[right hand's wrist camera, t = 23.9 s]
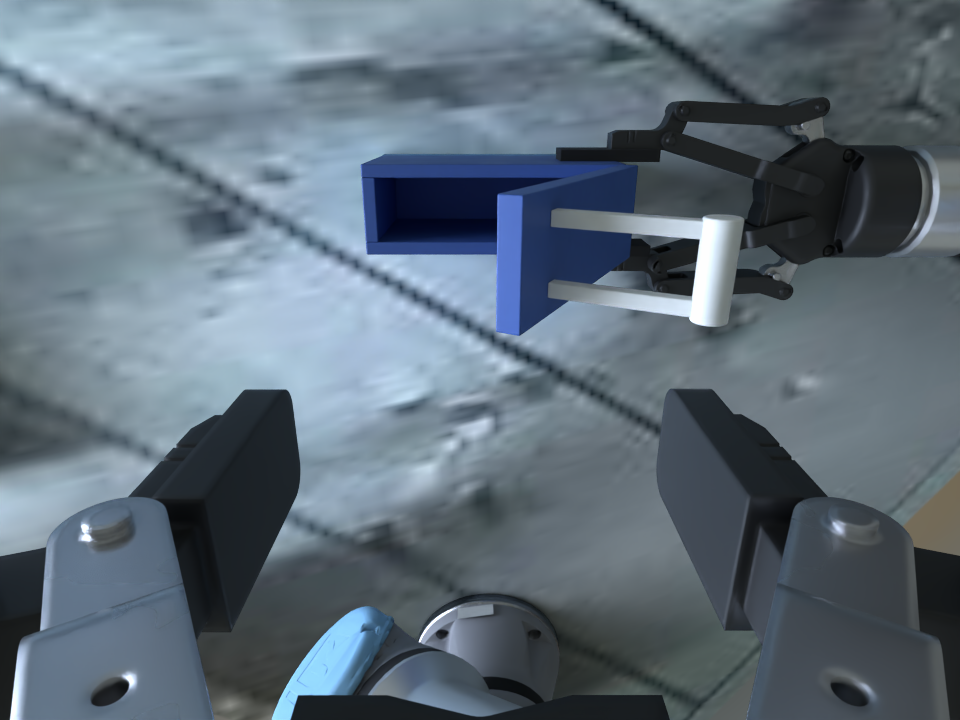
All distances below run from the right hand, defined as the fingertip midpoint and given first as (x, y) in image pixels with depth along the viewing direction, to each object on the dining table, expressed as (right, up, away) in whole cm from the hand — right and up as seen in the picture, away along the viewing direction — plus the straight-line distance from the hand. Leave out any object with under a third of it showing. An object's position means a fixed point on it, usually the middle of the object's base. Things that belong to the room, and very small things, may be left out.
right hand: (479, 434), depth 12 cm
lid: (+5, +8, +20) cm, 22 cm away
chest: (+1, +15, +37) cm, 40 cm away
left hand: (+5, +12, +31) cm, 34 cm away
